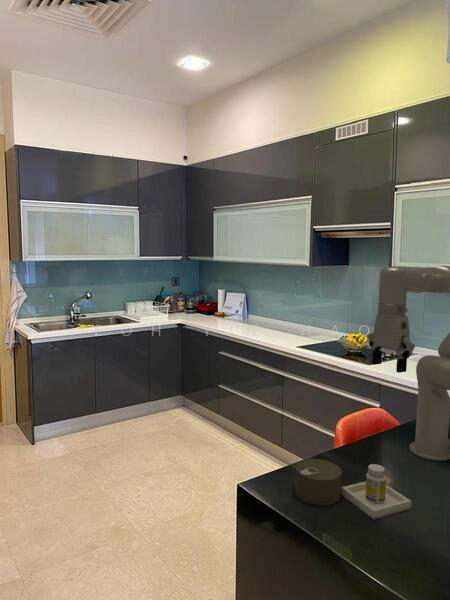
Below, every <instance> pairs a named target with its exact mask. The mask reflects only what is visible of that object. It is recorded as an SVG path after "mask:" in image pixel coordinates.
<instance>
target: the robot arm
mask: <svg viewBox="0 0 450 600" xmlns="http://www.w3.org/2000/svg"><path fill="white" fill-rule="evenodd" d="M378 286H379V288H378V290H379V291H378V304H377V305H378V306H377V307H378V308H377V313H376V315H375V316H376V317H375V320H374V321H375V322H374V326H373V332H371V333H369V334H367V340H368V344H369V346H370V351H371V352H372V354H371V356H372V357H371V365H374V366H375V365H376V366H377V365H381V364H382V357H383V351H382V349H386V350H391V351H395V352H396V354H397V358H396V366H395V367H396V369H395V371H396V373H400V374H401V373H406V372H407V368H408V367H407V366H408V359H409V358H410V357H411V355H412V354H413V352H414V349H415V348H416V345H415V344H414V343H413V342H412V341H411V340H410V325H409V324H410V322H409V319H408V318H409V317H408V315H406V313H407V312H408V308H407V297H408V294H407V293H413V294H415V293H418V294H419V293H420V294H421V293H424V292H425V293H431V294H432V293H433V294H434V293H435V294H450V265H430V266H429V265H428V266H401V265H397V266H395V265H393V266H386V267H382V268H381V270H380V272H379V284H378ZM437 354H438V355H432V354H431V355H424V356H422V357H421V358H420V359H419V360H418V361H417V364H416V367H415V373H416V374H415V375H416V380H417V382H416V383H417V405H416V420H415V421H416V422H415V438H414V441H413V442H411V443H410V444H409V450H410V453H412V454H414V455H415V456H417V457H420V458H423V459H426V460H431V461H438V462H439V461H441V462H442V461H448V460H450V438H449V433H450V432H449V428H450V395H449V391H450V332H449V333H448V334H447V335H446V336H445V337H444V338H443V340H442V341H441V343H439V346H438V348H437Z"/></svg>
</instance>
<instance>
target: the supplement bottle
mask: <svg viewBox="0 0 450 600" xmlns="http://www.w3.org/2000/svg"><path fill="white" fill-rule="evenodd" d="M385 471H386V469H385V467H384V466H382V465H381V464H376V463H371V464H369V465H368V466H367V473H366V475H365V476H366V477H365V478H366V479H365V482H366V499H367V500H368V501H370V502H372V503H383V502H384V501H385V489H386V485H387V476H386V475H385V474H386V473H385Z"/></svg>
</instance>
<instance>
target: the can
mask: <svg viewBox="0 0 450 600" xmlns="http://www.w3.org/2000/svg"><path fill="white" fill-rule="evenodd" d="M342 475H343V470H342V469H341V467H340V466H339V465H338V464H336V463H335V462H332V461H330V460H326V459H322V458H305V459H301V460H300V461H297V462H296V464H295V494H296V496H297V497H298V498H299V499H300V500H302V501H303V502H305V503H308V504H312V505H314V506H315V505H316V506H330V505H334V504H336V503H337V502H339V501H340V499H341V486H342V485H341V484H342Z"/></svg>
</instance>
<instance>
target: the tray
mask: <svg viewBox="0 0 450 600" xmlns="http://www.w3.org/2000/svg"><path fill="white" fill-rule="evenodd" d="M340 496H342V497H343V498H345V500H347V501H349V502H350V503H351V504H352V505H354V506H355V507H356V508H358V509H359V510H360V511H361V512H362V513H364V514H366V515H367V516H368V517H370V518H371V519H372V520H377V519H378V520H379V519H380V518H383V517H388V516H392V515H394V514H398V513H402V512H405V511H408V510H411V509H412V500H411V499H410V498H407V497H406V496H405V495H403V494H402V493H400V492H398V491H397V490H395V489H394V488H392V487H391V486H389V485H387V484H386V489H385V501H384V502H383V503H372V502H370V501H368V500H367V499H366V481H361V482H358V483H354V484H349V485H345V486H342V487H341V488H340Z"/></svg>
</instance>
